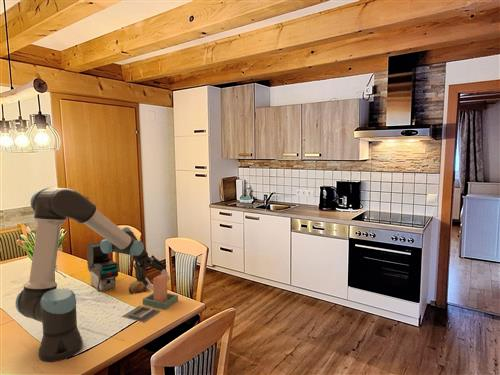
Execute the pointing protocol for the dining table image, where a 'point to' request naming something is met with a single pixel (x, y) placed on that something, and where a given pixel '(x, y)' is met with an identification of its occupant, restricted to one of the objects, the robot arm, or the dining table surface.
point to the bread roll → (137, 287)
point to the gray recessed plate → (141, 314)
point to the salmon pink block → (160, 288)
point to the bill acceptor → (101, 268)
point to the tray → (150, 302)
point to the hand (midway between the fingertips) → (161, 284)
